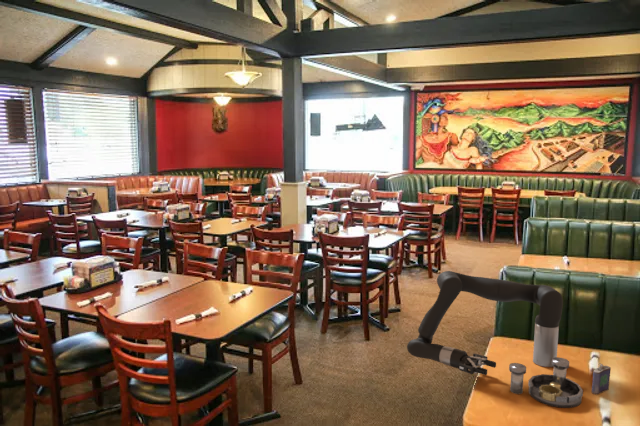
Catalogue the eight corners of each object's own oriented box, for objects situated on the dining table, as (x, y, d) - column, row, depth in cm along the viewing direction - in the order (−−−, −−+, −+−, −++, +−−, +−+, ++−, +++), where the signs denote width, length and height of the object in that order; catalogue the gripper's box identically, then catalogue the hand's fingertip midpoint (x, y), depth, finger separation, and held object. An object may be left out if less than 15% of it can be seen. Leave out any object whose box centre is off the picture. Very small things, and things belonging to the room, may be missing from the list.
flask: (596, 395, 190) (598, 368, 188) (588, 392, 192) (590, 365, 191) (610, 389, 195) (612, 362, 193) (602, 386, 197) (605, 360, 196)
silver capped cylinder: (511, 385, 197) (512, 361, 196) (527, 390, 194) (528, 366, 192) (505, 391, 193) (506, 366, 192) (521, 396, 189) (522, 371, 188)
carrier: (537, 379, 203) (539, 351, 201) (587, 394, 191) (589, 363, 189) (521, 396, 189) (523, 366, 187) (573, 413, 177) (575, 381, 176)
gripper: (445, 354, 204) (484, 365, 193) (461, 343, 214) (499, 353, 204) (444, 371, 205) (483, 384, 194) (460, 360, 215) (498, 371, 205)
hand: (491, 368), depth 199 cm, fingers open, 8 cm apart
